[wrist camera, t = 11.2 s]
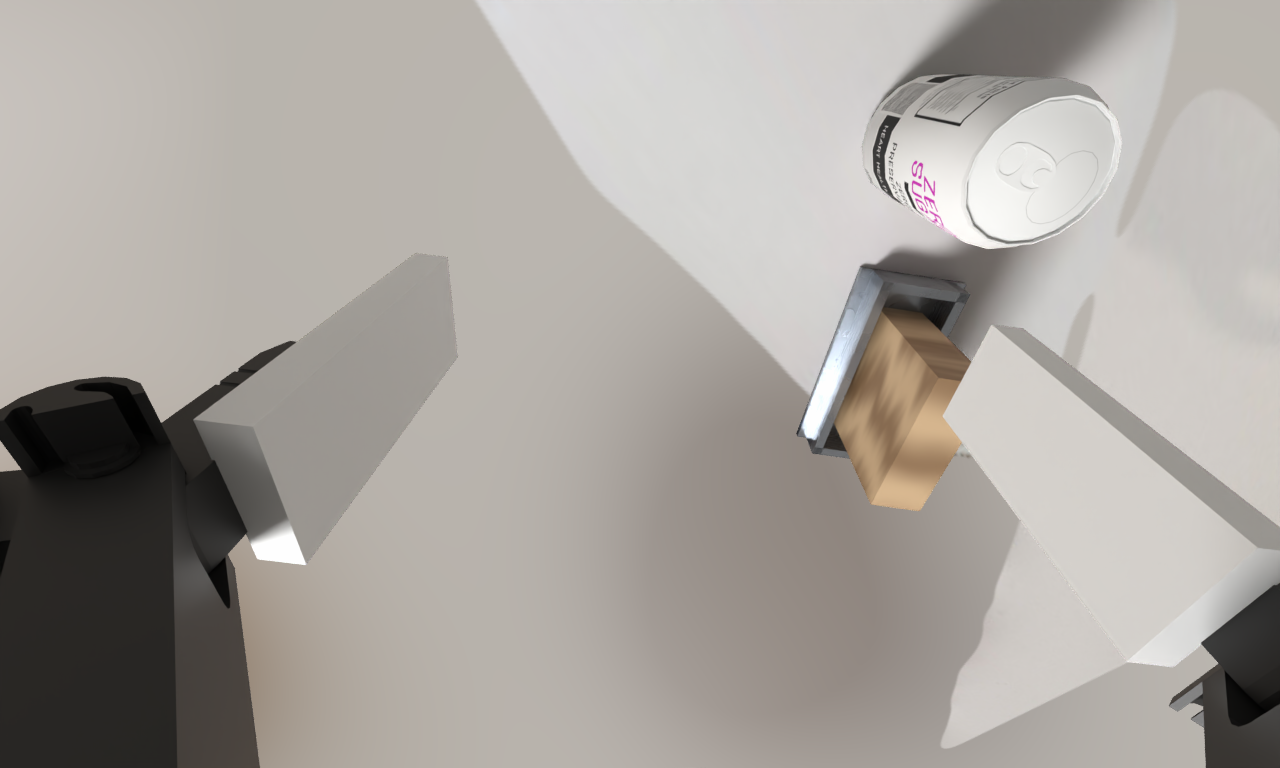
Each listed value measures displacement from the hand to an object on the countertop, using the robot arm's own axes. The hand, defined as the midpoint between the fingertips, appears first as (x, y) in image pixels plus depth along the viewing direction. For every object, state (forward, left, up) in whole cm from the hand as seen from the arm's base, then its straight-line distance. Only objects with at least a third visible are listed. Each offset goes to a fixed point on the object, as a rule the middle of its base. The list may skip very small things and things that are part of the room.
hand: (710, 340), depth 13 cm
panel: (+16, +21, -31) cm, 40 cm away
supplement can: (-3, +17, -32) cm, 36 cm away
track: (+16, +21, -31) cm, 41 cm away
